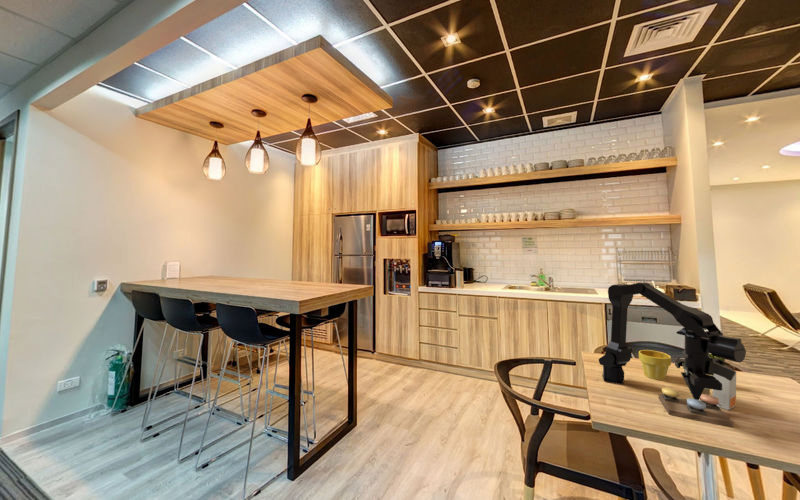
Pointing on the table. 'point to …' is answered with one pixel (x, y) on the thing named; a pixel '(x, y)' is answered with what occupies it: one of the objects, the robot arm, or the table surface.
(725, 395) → the skincare box
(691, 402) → the slate-blue button
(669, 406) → the board
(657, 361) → the plant pot
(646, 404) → the table surface
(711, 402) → the terracotta button
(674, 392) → the ochre button
